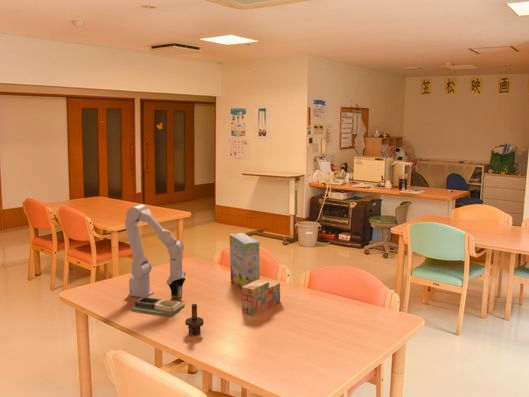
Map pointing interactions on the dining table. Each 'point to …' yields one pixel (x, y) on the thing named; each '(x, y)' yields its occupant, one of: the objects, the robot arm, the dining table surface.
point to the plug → (178, 292)
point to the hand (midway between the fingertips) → (176, 294)
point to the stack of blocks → (259, 296)
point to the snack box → (244, 259)
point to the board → (157, 306)
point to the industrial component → (194, 322)
